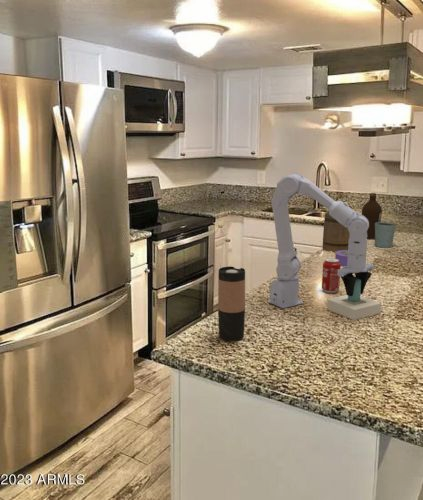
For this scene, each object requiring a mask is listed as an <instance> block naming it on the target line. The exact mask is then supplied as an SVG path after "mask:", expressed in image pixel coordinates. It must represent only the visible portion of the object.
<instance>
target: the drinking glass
mask: <svg viewBox="0 0 423 500" xmlns="http://www.w3.org/2000/svg"><path fill="white" fill-rule="evenodd" d="M396 226H397V224H396V223H394V222H385V221H381V222H377V223H375V239H374V247H375V248H379V249H391V248H392V247H393V243H394V238H395V233H396V228H397V227H396Z"/></svg>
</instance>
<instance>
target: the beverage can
mask: <svg viewBox="0 0 423 500" xmlns="http://www.w3.org/2000/svg"><path fill="white" fill-rule="evenodd" d="M341 268H342V266H341V264H340V262H339V260H338V259H335V257H334V258H332V257H331V258H330V257H329V258H328V257H327V258H325V259H324V261H323V263H322V272H321V273H322V277H321V278H322V280H321V290H323V292H324V293H327V294H336V293H337V292H338V291H339V290H340V283H341V281H340V280H341V276H338V275H337V273H338V269H341Z"/></svg>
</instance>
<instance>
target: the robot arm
mask: <svg viewBox="0 0 423 500" xmlns="http://www.w3.org/2000/svg"><path fill="white" fill-rule="evenodd" d="M296 194H297V195H299V196H300V195H301V196H308V197H310V198H312V199H313V200H315V202H317V203H318V204H320V205H322V206H323V207H325V208H326V209H327V210H328V212H329V215H330V216H331V217H333V218H334V219H335V220H337V221H338V222H339V223H341V224H342V225H343V226H345V227H348V231H349V233H350V236H349V244H348V260H347V266H346V267H344V266H343V267H340V269H338V273H337V275H338V276H340V279H341V280H342V282H343V284H344V289H345V293H346V294H345V295H348V296H353V292H354V285H355V282H356V280H357V279H361V294H360V295H363V293H364V291H365V288H366V285H367V283H368V281H369V279H370V278H371V276H372V273H371V272H369V271H375V264H373V263H367V250H368V239H367V230H368V228H369V221H368V220H367V218H366V217H365V216H363V215H362V214H361V213H360V212H359V211H355V210H354V209H353V208H351V207H350V206H349V203H348V202H347V201H344V202H343V201H342V200H338V201H335V200H334V199H333V198H331V197H330V196H329V195H328V194H327V193H326V192H324V191H323V190H322V189H321V188H319V187H318V186H317V185H316V184H314V183H313V182H312V181H311V180H309V179H308V178H306V177H304V176H303V175H302V174H300V173H297V172H295V173H291V174H287V175H285V176H282V178H281V179H280V180H279V181H278V182H277V183H276V187H275V190H274V193H273V194H272V195H273V196H272V198H271V206H272V213H273V214H272V216H273V221H274V227H275V234H276V235H275V236H276V243H277V248H278V254H277V259H276V260H277V266H276V267H275V268H276V269H275V270H276V275H277V278H276V279H274V280H272V281H271V282H270V284H269V300H268V303H270V304H272V305H275V306H276V307H278V308H281V309H285V308H290V307H294V306H298V305H303V304H304V301H302V300H299V286H300V275H299V274H298V272H299V271H300V270H301V266H302V263H301V261H300V259H299V258H298V255H297V251H296V250H295V248H294V242H293V241H294V240H293V235H292V234H293V233H292V227H291V219H290V213H289V207H288V203H289V202H290V201H291V199H292V198H293V197H294V195H295V196H296Z"/></svg>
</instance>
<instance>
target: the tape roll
mask: <svg viewBox="0 0 423 500" xmlns="http://www.w3.org/2000/svg"><path fill="white" fill-rule="evenodd" d="M334 259H338V260H339V262H340V264H341V267H344V266H345V267H346V266H347V260H348V250H341V251H337V252H335V255H334Z"/></svg>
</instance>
